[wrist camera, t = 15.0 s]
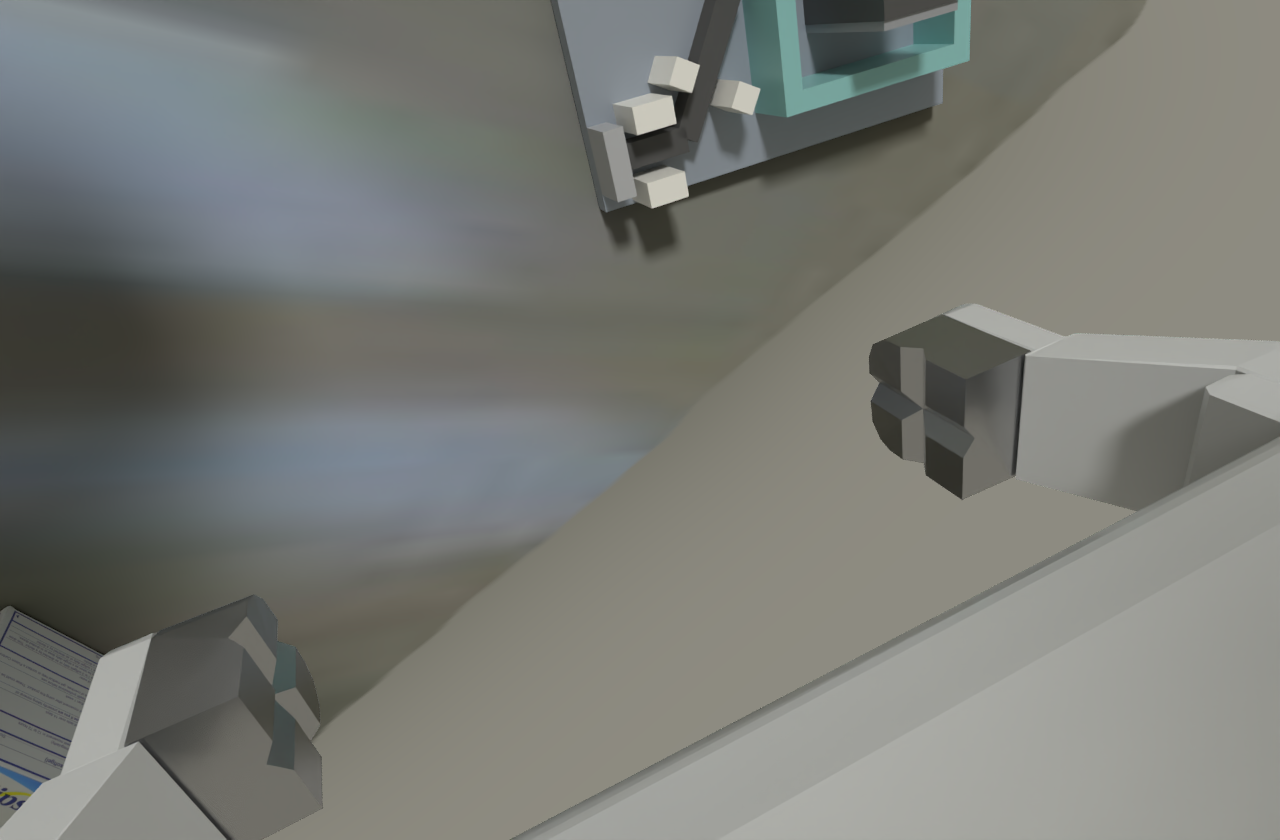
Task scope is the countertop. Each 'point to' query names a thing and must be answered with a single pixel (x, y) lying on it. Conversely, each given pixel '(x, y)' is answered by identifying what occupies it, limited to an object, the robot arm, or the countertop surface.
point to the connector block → (870, 14)
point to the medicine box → (37, 704)
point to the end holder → (793, 94)
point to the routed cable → (693, 105)
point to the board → (723, 137)
